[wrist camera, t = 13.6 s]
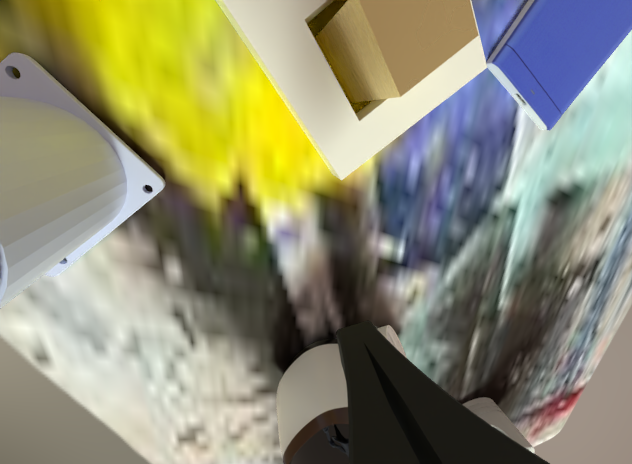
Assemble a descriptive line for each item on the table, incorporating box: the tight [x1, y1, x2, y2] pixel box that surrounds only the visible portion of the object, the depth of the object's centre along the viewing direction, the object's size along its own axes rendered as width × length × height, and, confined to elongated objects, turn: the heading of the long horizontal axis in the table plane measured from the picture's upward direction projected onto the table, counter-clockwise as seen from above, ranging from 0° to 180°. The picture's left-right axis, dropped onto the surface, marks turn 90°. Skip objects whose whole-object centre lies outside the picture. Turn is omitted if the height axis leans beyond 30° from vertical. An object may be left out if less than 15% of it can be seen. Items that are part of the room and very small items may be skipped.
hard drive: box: [486, 0, 632, 130], centre depth 17 cm, size 2×8×12 cm
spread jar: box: [276, 325, 407, 464], centre depth 21 cm, size 12×11×12 cm
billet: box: [316, 0, 478, 103], centre depth 12 cm, size 4×4×6 cm
